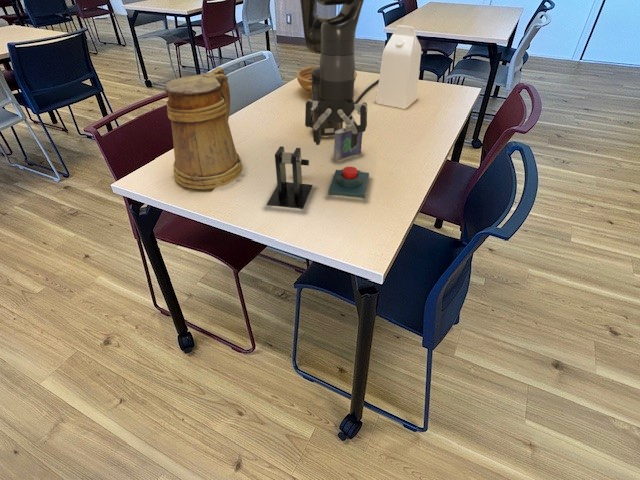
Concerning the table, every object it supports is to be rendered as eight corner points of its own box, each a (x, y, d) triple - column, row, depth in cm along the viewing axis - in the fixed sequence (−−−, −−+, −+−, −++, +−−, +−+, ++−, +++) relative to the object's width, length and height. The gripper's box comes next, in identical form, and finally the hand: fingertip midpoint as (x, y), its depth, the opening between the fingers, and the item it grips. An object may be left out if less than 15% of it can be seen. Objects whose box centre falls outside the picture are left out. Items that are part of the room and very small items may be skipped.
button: (344, 171, 98) (344, 165, 97) (357, 173, 97) (358, 167, 96) (341, 178, 95) (342, 172, 94) (356, 180, 95) (356, 174, 94)
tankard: (161, 184, 100) (131, 88, 85) (210, 147, 118) (192, 61, 102) (220, 197, 96) (200, 97, 80) (262, 156, 113) (252, 67, 97)
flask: (336, 163, 109) (337, 127, 102) (331, 159, 111) (331, 124, 104) (362, 155, 113) (365, 120, 106) (357, 152, 114) (359, 117, 108)
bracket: (279, 185, 100) (275, 139, 92) (313, 188, 99) (312, 142, 90) (267, 208, 92) (261, 160, 84) (303, 212, 90) (301, 164, 82)
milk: (416, 99, 149) (427, 25, 133) (404, 109, 142) (415, 31, 125) (388, 94, 154) (396, 21, 138) (375, 103, 147) (382, 27, 130)
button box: (335, 176, 103) (336, 162, 101) (368, 179, 102) (369, 165, 99) (328, 197, 95) (328, 183, 93) (364, 201, 94) (365, 187, 91)
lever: (287, 165, 99) (288, 156, 99) (308, 167, 98) (309, 158, 98) (274, 161, 87) (275, 151, 87) (298, 164, 86) (299, 153, 86)
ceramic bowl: (343, 109, 141) (344, 87, 136) (284, 102, 148) (283, 80, 143) (364, 85, 163) (365, 65, 158) (312, 80, 169) (311, 60, 164)
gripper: (372, 72, 83) (366, 141, 93) (309, 68, 86) (310, 136, 96) (367, 82, 77) (362, 155, 87) (300, 77, 80) (302, 149, 90)
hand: (335, 145), depth 92 cm, fingers open, 8 cm apart
